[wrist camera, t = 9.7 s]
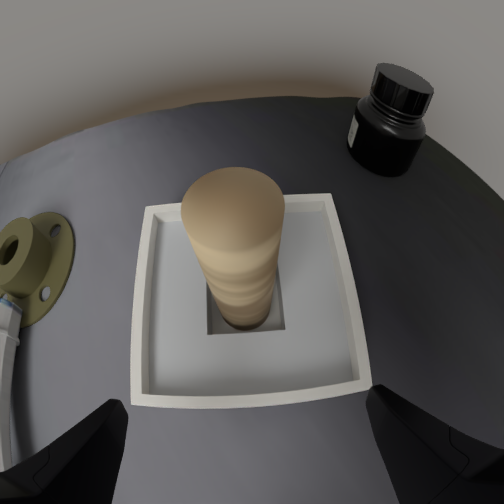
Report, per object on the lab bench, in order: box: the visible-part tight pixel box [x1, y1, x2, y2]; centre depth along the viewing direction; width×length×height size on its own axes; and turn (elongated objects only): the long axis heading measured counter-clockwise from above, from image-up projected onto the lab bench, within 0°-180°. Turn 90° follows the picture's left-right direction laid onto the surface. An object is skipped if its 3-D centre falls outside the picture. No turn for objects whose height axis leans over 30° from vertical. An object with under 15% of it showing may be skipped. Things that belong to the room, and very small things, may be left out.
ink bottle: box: [347, 63, 434, 177], centre depth 26 cm, size 10×9×12 cm
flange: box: [0, 212, 75, 328], centre depth 23 cm, size 5×15×15 cm
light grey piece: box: [0, 298, 22, 472], centre depth 14 cm, size 5×7×25 cm
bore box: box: [131, 193, 372, 409], centre depth 20 cm, size 16×16×4 cm
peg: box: [181, 167, 285, 331], centre depth 16 cm, size 4×4×13 cm
